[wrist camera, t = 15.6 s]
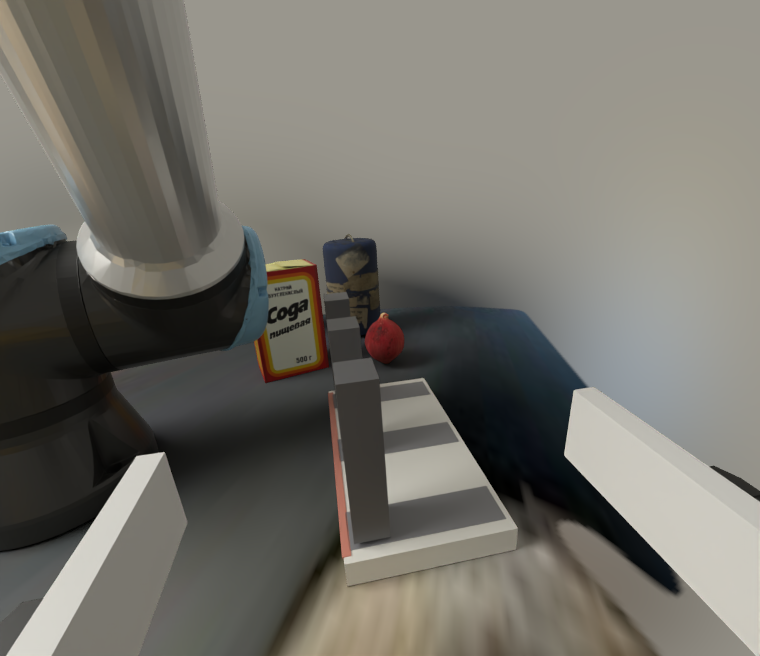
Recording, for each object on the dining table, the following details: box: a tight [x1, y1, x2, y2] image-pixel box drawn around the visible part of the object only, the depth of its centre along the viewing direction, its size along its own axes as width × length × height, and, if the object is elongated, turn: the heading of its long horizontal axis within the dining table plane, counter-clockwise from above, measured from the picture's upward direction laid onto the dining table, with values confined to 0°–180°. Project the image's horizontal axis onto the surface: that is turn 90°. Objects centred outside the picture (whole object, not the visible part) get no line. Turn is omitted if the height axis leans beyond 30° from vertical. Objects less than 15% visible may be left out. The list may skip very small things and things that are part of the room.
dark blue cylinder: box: [323, 234, 380, 335], centre depth 68 cm, size 10×10×18 cm
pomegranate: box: [365, 313, 404, 364], centre depth 55 cm, size 6×6×8 cm
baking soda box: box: [254, 259, 329, 383], centre depth 55 cm, size 10×6×16 cm
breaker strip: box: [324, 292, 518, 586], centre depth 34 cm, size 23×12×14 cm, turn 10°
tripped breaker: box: [332, 358, 391, 544], centre depth 24 cm, size 3×2×12 cm
